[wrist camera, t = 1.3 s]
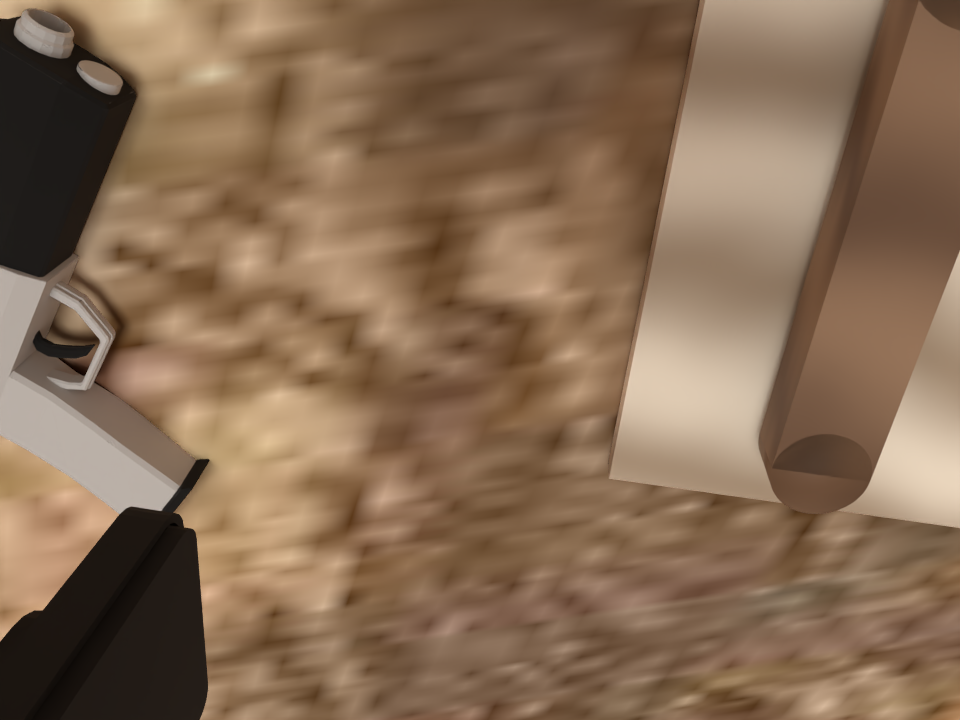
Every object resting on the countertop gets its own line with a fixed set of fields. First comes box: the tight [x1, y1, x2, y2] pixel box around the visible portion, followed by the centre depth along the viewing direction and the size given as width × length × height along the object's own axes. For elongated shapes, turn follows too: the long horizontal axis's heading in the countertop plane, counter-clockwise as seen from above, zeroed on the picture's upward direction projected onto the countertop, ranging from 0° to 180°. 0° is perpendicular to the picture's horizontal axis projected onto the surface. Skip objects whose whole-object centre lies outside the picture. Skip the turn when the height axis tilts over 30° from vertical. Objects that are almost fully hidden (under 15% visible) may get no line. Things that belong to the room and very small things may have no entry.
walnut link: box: [758, 0, 960, 514], centre depth 22 cm, size 19×4×2 cm, turn 175°
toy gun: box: [0, 9, 209, 514], centre depth 28 cm, size 3×16×12 cm
